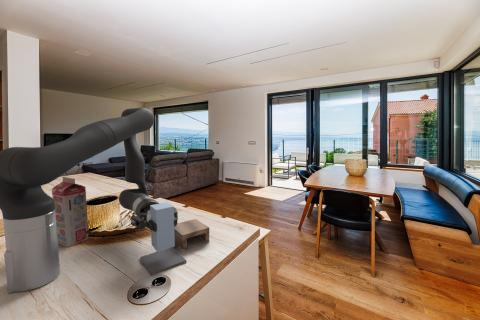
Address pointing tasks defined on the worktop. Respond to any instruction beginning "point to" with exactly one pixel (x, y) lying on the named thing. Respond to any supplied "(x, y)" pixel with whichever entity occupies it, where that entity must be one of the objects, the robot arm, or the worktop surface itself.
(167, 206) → the block
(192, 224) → the riser
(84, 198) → the juice carton
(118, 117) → the robot arm
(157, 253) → the coaster
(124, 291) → the worktop surface
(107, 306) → the worktop surface
